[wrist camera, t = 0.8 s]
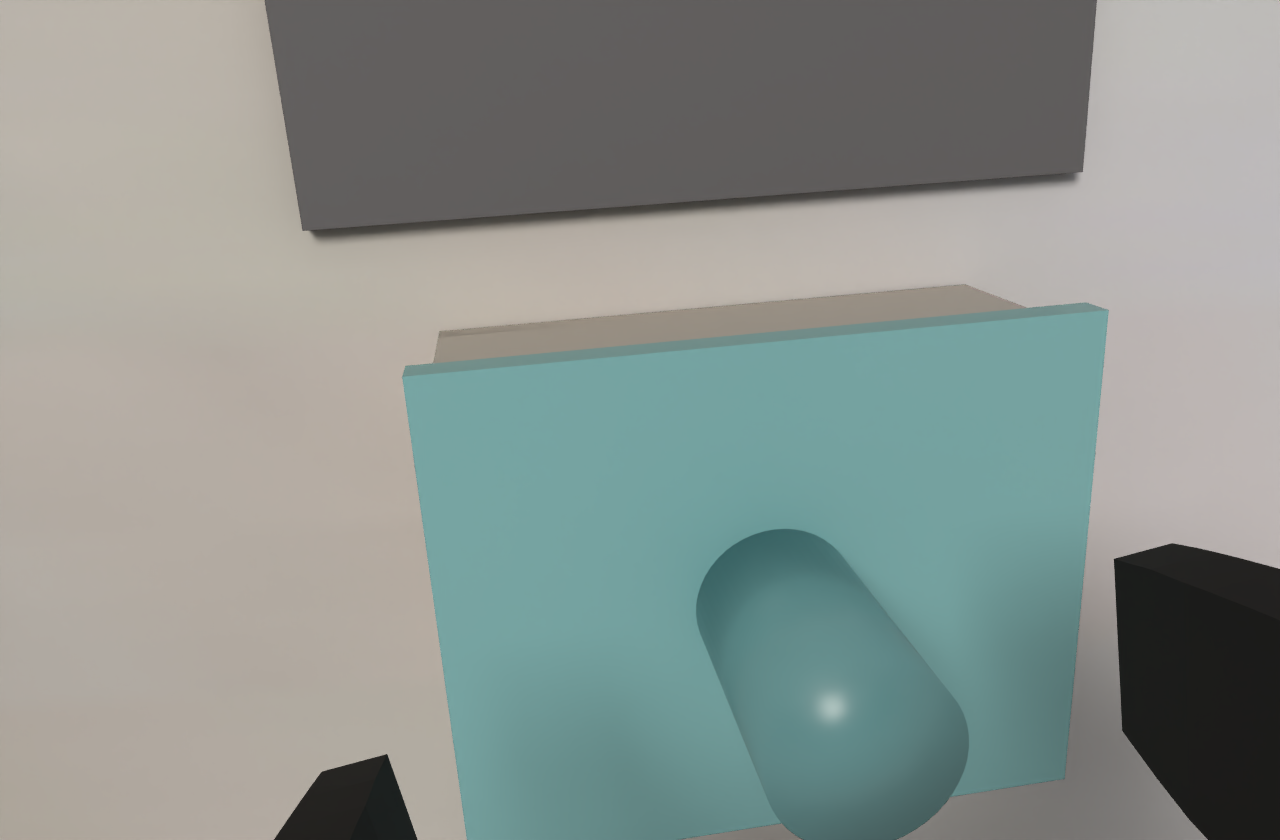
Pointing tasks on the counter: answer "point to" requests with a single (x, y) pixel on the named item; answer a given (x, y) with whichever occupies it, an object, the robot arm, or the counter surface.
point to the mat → (666, 100)
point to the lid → (760, 573)
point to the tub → (713, 322)
